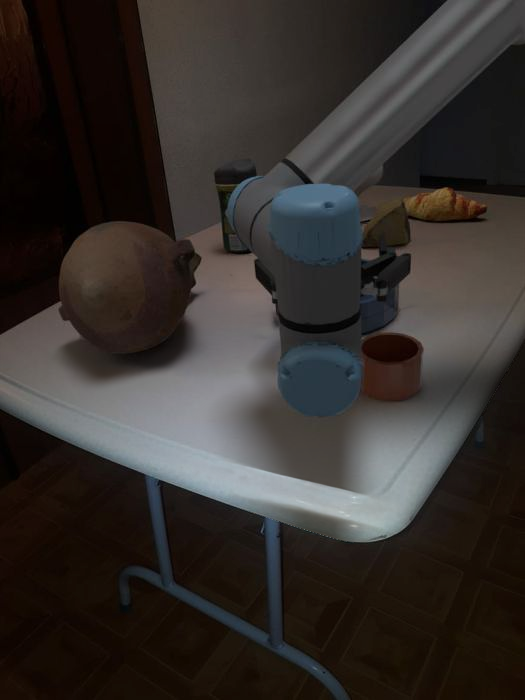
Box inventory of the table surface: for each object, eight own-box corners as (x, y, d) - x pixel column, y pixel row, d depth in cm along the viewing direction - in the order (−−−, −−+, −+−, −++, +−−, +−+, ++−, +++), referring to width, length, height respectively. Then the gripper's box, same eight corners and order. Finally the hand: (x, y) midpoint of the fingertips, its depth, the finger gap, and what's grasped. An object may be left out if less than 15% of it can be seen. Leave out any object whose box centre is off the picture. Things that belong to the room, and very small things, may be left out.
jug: (144, 387, 77) (229, 323, 103) (156, 250, 69) (245, 218, 95) (25, 347, 82) (134, 295, 109) (22, 214, 74) (142, 193, 101)
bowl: (408, 294, 95) (409, 261, 92) (381, 350, 80) (381, 312, 77) (301, 284, 103) (299, 254, 100) (258, 333, 88) (254, 299, 85)
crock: (425, 376, 73) (428, 336, 70) (414, 410, 67) (416, 368, 64) (366, 367, 76) (366, 329, 73) (349, 400, 70) (349, 359, 67)
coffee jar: (237, 238, 130) (227, 156, 120) (268, 240, 127) (260, 155, 117) (218, 253, 122) (206, 166, 113) (251, 255, 119) (241, 166, 110)
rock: (351, 241, 114) (400, 238, 109) (354, 201, 115) (402, 196, 110) (367, 257, 123) (412, 254, 119) (369, 219, 124) (414, 215, 120)
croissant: (391, 230, 135) (385, 205, 129) (403, 200, 139) (398, 175, 133) (482, 236, 124) (480, 209, 118) (493, 204, 128) (492, 177, 122)
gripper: (220, 342, 65) (250, 272, 83) (441, 340, 61) (422, 267, 79) (211, 283, 62) (244, 223, 80) (446, 277, 57) (425, 215, 75)
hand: (333, 245), depth 79 cm, fingers open, 13 cm apart
